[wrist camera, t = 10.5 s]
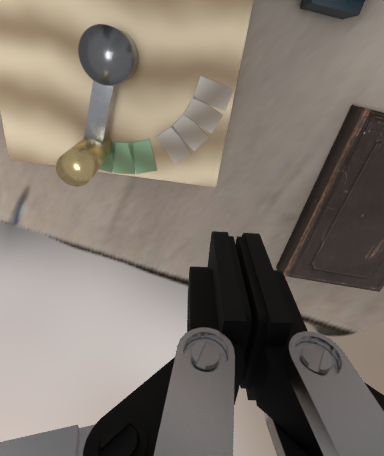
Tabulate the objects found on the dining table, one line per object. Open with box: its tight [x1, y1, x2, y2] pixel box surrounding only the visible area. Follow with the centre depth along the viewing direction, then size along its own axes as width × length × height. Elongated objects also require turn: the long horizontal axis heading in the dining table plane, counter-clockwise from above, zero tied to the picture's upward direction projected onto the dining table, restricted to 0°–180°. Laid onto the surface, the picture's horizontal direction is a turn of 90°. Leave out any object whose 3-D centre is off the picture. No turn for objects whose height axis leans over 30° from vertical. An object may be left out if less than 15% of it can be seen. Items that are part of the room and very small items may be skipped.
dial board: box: [0, 0, 253, 187], centre depth 28 cm, size 24×24×1 cm
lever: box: [56, 24, 139, 186], centre depth 26 cm, size 14×4×8 cm, turn 160°
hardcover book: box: [277, 105, 384, 292], centre depth 37 cm, size 16×23×2 cm
